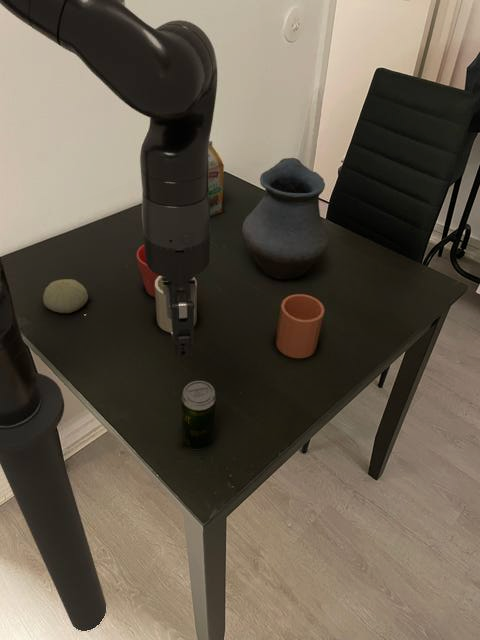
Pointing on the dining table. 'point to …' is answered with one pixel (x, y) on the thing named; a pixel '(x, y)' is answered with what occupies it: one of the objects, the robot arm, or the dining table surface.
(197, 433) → the beer can
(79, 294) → the sea urchin shell
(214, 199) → the milk carton
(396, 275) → the dining table surface
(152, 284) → the flower pot
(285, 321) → the terracotta cup
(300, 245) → the dark grey vase
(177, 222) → the robot arm
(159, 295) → the cream cup
